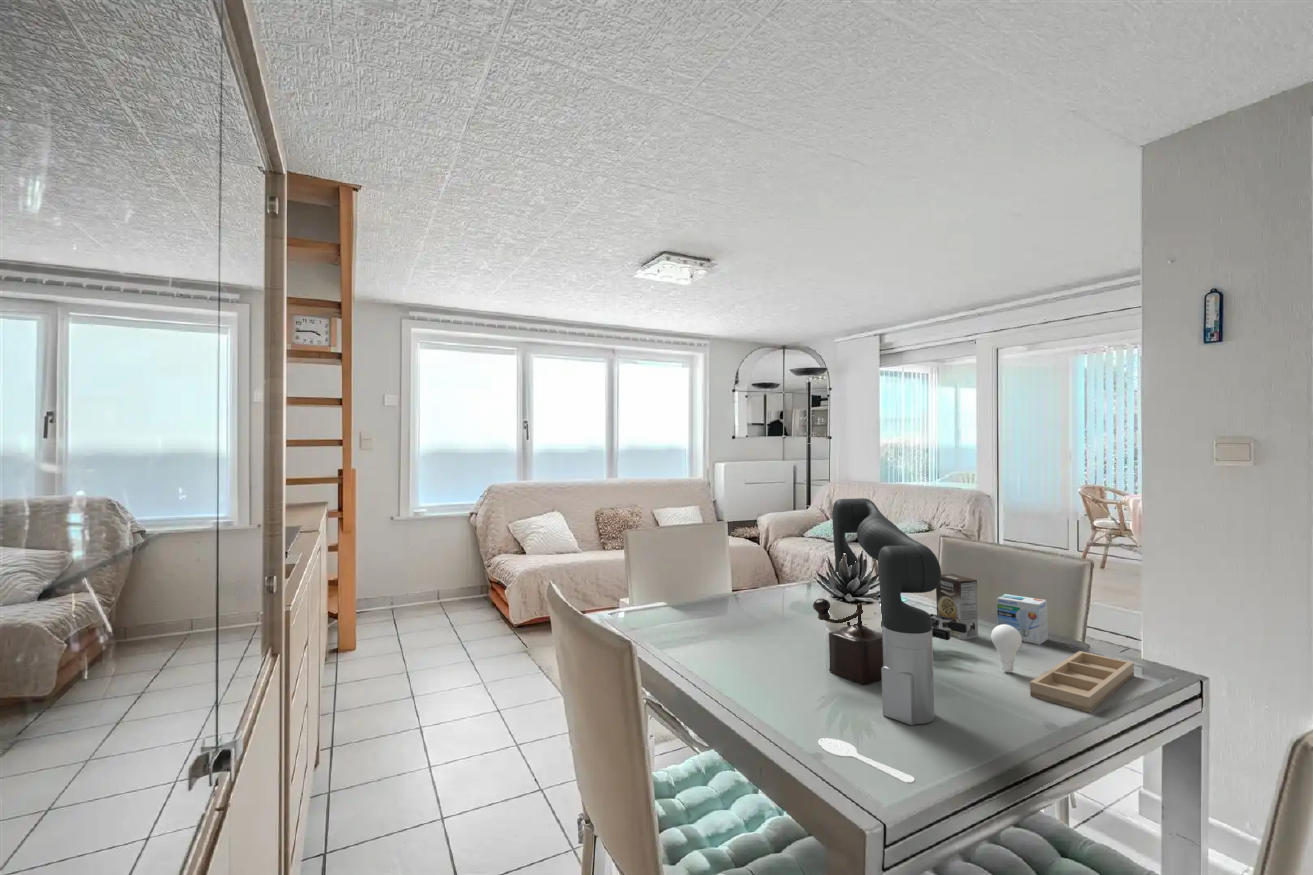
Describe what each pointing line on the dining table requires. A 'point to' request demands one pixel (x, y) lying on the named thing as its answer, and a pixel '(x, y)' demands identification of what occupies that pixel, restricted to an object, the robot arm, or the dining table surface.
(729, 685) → the dining table surface
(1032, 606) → the light bulb box
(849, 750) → the spoon
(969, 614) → the cookie box
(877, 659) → the manual coffee grinder
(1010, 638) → the lightbulb
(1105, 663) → the wooden compartment tray
